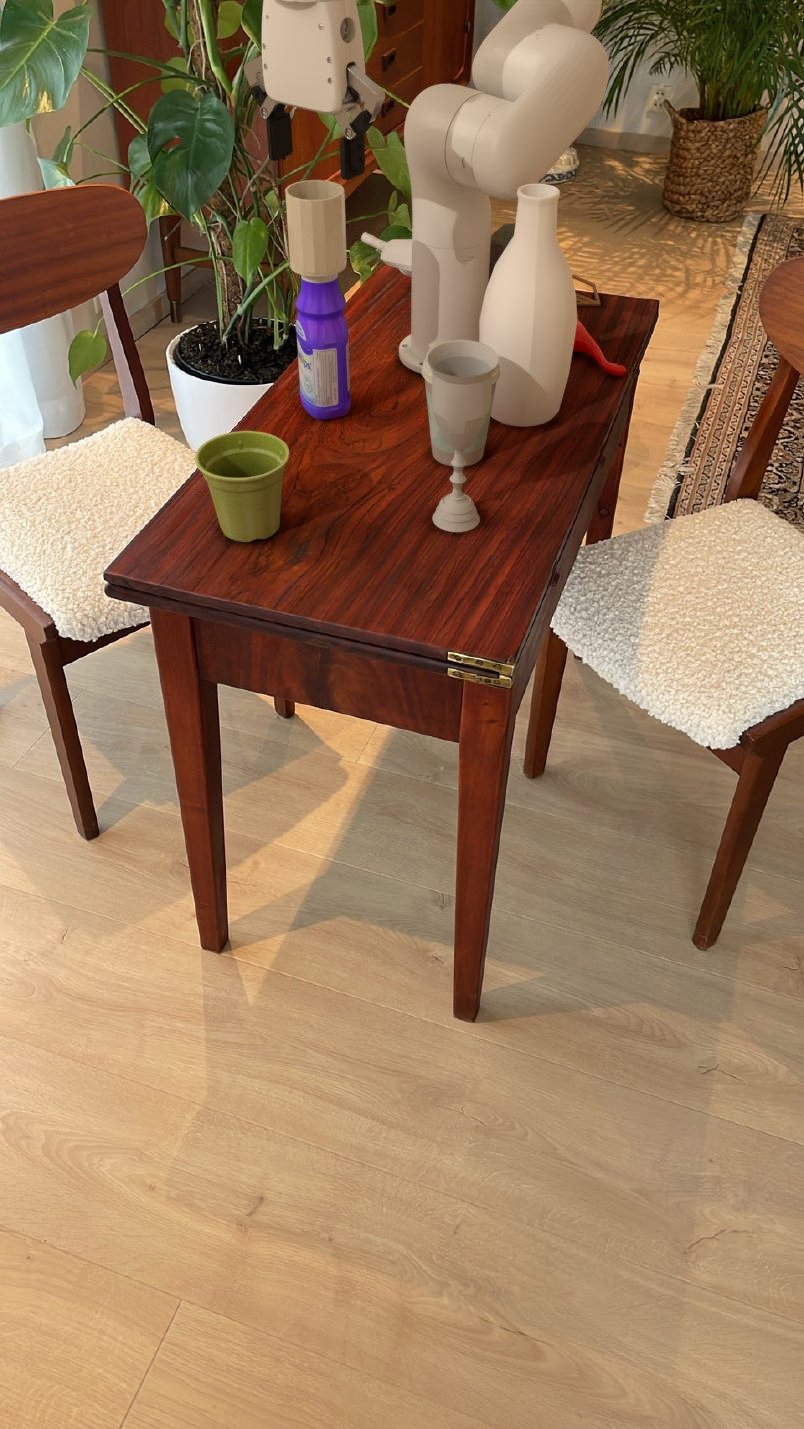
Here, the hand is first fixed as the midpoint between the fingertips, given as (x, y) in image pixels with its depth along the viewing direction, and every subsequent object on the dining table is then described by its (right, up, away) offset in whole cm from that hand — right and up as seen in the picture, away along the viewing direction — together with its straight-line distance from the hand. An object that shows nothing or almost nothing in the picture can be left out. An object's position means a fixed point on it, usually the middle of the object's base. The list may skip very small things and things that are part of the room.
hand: (316, 166), depth 121 cm
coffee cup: (+15, -28, +11) cm, 34 cm away
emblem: (+32, +2, +43) cm, 54 cm away
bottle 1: (0, -20, +19) cm, 28 cm away
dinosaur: (+30, -5, +32) cm, 44 cm away
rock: (+22, -3, +31) cm, 38 cm away
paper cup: (0, -8, +7) cm, 10 cm away
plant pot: (-7, -38, +1) cm, 38 cm away
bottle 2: (+23, -20, +19) cm, 36 cm away
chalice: (+15, -37, +2) cm, 39 cm away
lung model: (+23, +1, +33) cm, 41 cm away
